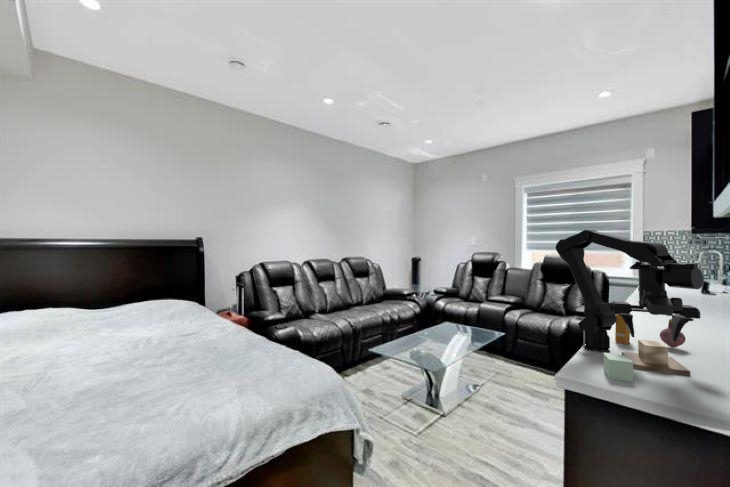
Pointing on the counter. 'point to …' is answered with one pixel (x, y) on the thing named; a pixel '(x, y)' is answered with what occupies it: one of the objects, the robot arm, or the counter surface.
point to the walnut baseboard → (657, 365)
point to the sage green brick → (618, 366)
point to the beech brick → (653, 352)
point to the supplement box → (621, 331)
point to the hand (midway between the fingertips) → (653, 338)
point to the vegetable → (667, 336)
